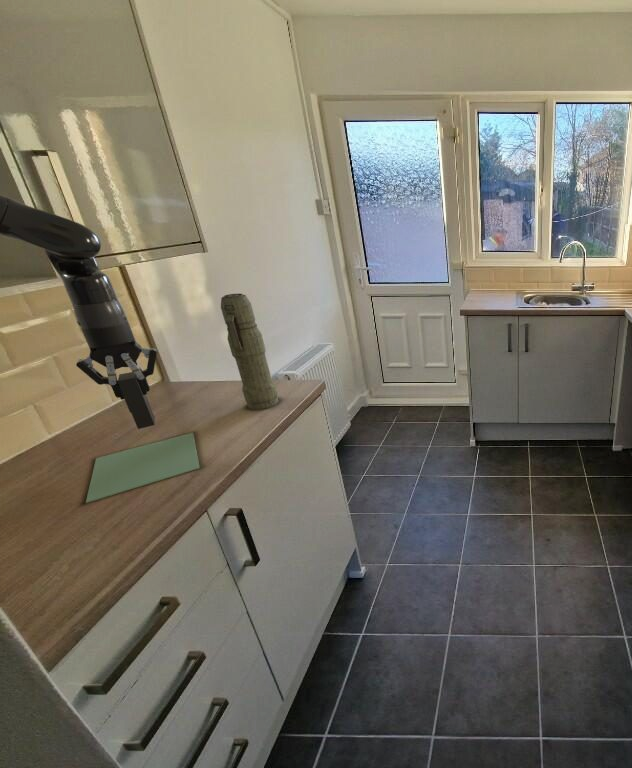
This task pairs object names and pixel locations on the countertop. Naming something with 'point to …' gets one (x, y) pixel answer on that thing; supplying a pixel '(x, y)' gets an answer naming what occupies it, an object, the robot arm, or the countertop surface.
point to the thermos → (248, 352)
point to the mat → (142, 466)
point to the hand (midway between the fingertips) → (134, 395)
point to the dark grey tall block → (136, 400)
